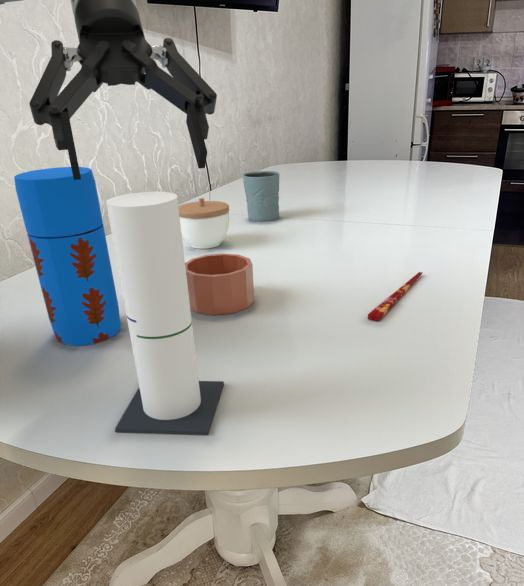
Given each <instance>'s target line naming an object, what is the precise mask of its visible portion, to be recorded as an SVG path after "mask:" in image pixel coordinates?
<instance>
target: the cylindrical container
mask: <svg viewBox="0 0 524 586" xmlns="http://www.w3.org/2000/svg"><path fill="white" fill-rule="evenodd" d="M105 203H106V209H107V213H108V221H109V225H110V231H111V238H112V243H113V249H114V254H115V260H116V265H117V271H118V275H119V281H120V288H121V292H122V299H123V304H124V309H125V314H126V320H127V326H128V331H129V337H130V338H129V339H130V343H131V349H132V355H133V360H134V365H135V371H136V377H137V382H138V388H140V393H141V399H142V404H143V410H144V412H145V413H146V414H147V415H148V416H150V417H152V418H155V419H160V420H173V419H178V418H182V417H185V416H187V415H189V414H191V413H192V412H194V411H195V410H196V409H197V408H198V407H199V406H200V403H201V396H200V388H199V381H200V380H199V372H198V371H199V370H198V364H197V355H196V347H195V340H194V330H193V321H192V312H191V311H192V310H191V309H190V302H189V294H188V285H187V277H186V268H185V263H186V261H185V252H184V243H183V237H182V234H181V225H180V216H179V208H178V206H179V201H178V195H177V194H176V193H174V192H168V191H140V192H131V193H125V194H119V195H116V196H113V197H110V198H108V199H107V200H106V201H105Z"/></svg>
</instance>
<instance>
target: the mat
mask: <svg viewBox="0 0 524 586" xmlns="http://www.w3.org/2000/svg"><path fill="white" fill-rule="evenodd" d="M224 386H225V382H224V381H223V380H222V381H221V380H199V388H200V396H201V403H200V406H199V407H198V408H197V409H196V410H195V411H194V412H192V413H191V414H189V415H187V416H185V417H182V418H178V419H173V420H160V419H155V418H152V417H150V416H148V415H147V414H146V413H145V412H144V410H143V404H142V399H141V393H140V388H139V387H138V388H137V390H136V392H135V393H134V395H133V397H132V398H131V400H130V402H129V404H128V406H127V407H126V409H125V410H124V412H123V414H122V415H121V418H120V419H119V421H118V422H117V424H116V426H115V428H114V432H115V433H130V434H131V433H133V434H134V433H135V434H165V435H199V436H208V435H209V432H210V430H211V426H212V422H213V421H214V417H215V413H216V410H217V407H218V404H219V401H220V398H221V396H222V395H221V394H222V392H223V388H224Z"/></svg>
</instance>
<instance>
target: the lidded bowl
mask: <svg viewBox="0 0 524 586" xmlns="http://www.w3.org/2000/svg"><path fill="white" fill-rule="evenodd" d="M178 208H179V216H180V225H181V234H182V239H183V240H184V241H186V243H187V244H189V245H190V247H191V248H193V249H199V250H206V249H208V250H209V249H213V248H217V247H219V246H221V243H222V241H224V239H225V238H226V236H227V234H228V231H229V228H230V205H229V204H228V203H227V202H223V201H219V200H205V198H204V197H199V198H198V201H190V202H187V203H182V204H180V205H178Z"/></svg>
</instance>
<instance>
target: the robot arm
mask: <svg viewBox="0 0 524 586" xmlns="http://www.w3.org/2000/svg"><path fill="white" fill-rule="evenodd" d="M21 1H23V0H0V5H5V3H11V2H13V3H14V2H21ZM70 5H71V9H72V14H73V18H74V23H75V24H74V25H75V28H76V33H77V38H78V45H77V47H67V46H66V47H64V44H63V42H62V41H61V40H59V39H55V40H52V41H51V45H50V46H51V57H49V58H50V59H49V61H48V62H47V65H46V67H45V69H44V71H43V73H42V76H41V77H40V79H39V82H38V83H37V86H36V88H35V90H34V92H33V94H32V97H31V99H30V101H29V108H30V112H31V115H32V119H33V123H35V125H38V126H43V125H45V124H47V125H49V126H51V130H52V136H53V140H54V144H55V147H56V149H57V150H58V151H67V153H68V157H69V158H68V159H69V163H70V164H69V165H70V167H71V169H72V173H73V178H74V180H80V179H81V176H80V170H79V167H80V165H79V161H78V156H77V155H78V154H77V150H76V145H75V141H74V135H73V130H72V124H71V120H70V119H71V118H72V117H73V116H74V115H75V114H76V112H77V111H78V110H79V109H80V108H81V106H82V105H83V104H84V103H85V101H86V100H87V99H89V97H90V96H91V94H92V93H96V92H98V90H99V89H100V88H101V87H102V85H103V84H107V87H113V86H114V87H115V86H118V85H127V86H134V85H136V83H138V84H139V85H141V86H142V87H143V88H145V89H146V90H152V91H153V92H155V93H157V95H159V96H160V97H162V98H163V99H165V100H166V101H168V102H169V103H170V104H171V105H173V106H175V107H176V108H177V109H178V110H180V111H182V112H183V113H184V114H185V115H186V119H185V124H186V127H187V131H188V134H189V138H190V141H191V146H192V149H193V153H194V157H195V161H196V165H197V168H198V169H199V170H200V169H206V164H207V157H208V148H207V145H206V142H205V140H208V137H209V129H210V128H209V127H210V126H209V123H208V119H207V115H213V114H215V110H216V105H217V98H218V97H217V96H218V94H217V93H216V92H215V90H214V89H213V88H212V87H211V86H210V85H209V84H208V83H207V82H206V80H204V78H203V77H202V76H201V75H200V74H199V73H198V72H197V71H196V69H195V68H194V67H192V66H191V64H190V63H189V62H188V61H187V60H186V59H185V57H183V56H182V54H181V53H180V52H179V50H178V48H177V46H176V44H175V41H174V40H173V39H172V38H170V37H166V38H164V39H163V41H162V43H163V44H159V45H151V44H150V43H149V42H148V41H147V39H146V37H145V32H144V29H143V24H142V21H141V18H140V17H141V16H140V13H139V11H138V6H137V1H136V0H70ZM156 61H158V62H159V63H160V64H161V67H162V68H161V67H159V66H158V64H157V62H156ZM77 62H78V63H79V64H80V66H81V67H80V70H79V71H78V72H77V73H76V74H75V75H74V76H73V77H72V79H71V80H70V81H69V82H68V83H67V85H66V86H65V87H64V88H63V89H62V86H63V85H64V83H65V80H66V78H67V72H70V71H72V67H73V66H74V63H77ZM163 68H164V69H165V68H166V70H167V71H168V72H166V71H165V70H164V69H163ZM61 89H62V90H61ZM206 114H207V115H206Z"/></svg>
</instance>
